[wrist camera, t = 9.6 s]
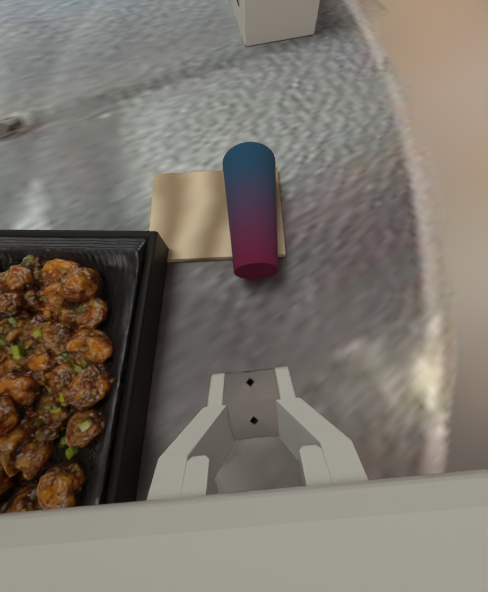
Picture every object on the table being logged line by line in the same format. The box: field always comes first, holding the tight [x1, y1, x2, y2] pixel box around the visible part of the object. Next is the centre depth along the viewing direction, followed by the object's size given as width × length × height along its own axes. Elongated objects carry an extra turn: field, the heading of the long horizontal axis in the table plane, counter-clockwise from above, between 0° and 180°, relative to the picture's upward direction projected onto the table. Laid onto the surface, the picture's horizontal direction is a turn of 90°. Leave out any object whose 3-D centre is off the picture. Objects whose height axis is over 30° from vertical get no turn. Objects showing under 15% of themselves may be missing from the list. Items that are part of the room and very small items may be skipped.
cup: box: [223, 142, 278, 279], centre depth 31 cm, size 7×7×15 cm
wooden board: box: [149, 168, 286, 262], centre depth 36 cm, size 18×14×1 cm
